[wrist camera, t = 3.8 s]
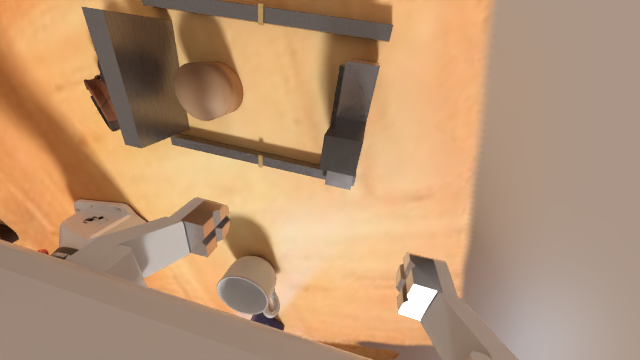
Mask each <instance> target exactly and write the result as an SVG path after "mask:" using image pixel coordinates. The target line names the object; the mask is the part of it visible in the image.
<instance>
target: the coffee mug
mask: <svg viewBox="0 0 640 360" xmlns="http://www.w3.org/2000/svg"><path fill="white" fill-rule="evenodd" d="M0 239H1V240H4V241H7V242H10V243H13V242H15V241H17V240H18V239H19V238H18V236H17V234H16V233H15V232H14V231H13V230H12V229H11V228H9V227H7V226H6V225H3V224H0Z"/></svg>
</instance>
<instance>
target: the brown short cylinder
mask: <svg viewBox="0 0 640 360" xmlns="http://www.w3.org/2000/svg"><path fill="white" fill-rule="evenodd" d="M174 88H175V93H176V96H177V98H178V100H179V102H180V104H181V105H182V107H183V108H184V109H185V110H186V111H187V112H188V113H189V114H190V115H192V116H193V117H195V118H197V119H199V120H203V121H210V120H213V119H216V118H218V117H221V116H223V115H226V114H228V113H231V112H233V111H235V110H237V109H238V108H239V107H240V105H241V103H242V100H243V87H242V83H241V81H240V79H239V77H238V75H237V74H236V72H235V71H234V70H233V69H232V68H231V67H229V66H228V65H226V64H224V63H221V62H200V63H187V64H184V65H182V66H181V67H180V68H179V69H178V70H177V72H176V74H175V78H174Z"/></svg>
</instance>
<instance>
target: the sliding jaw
mask: <svg viewBox="0 0 640 360" xmlns="http://www.w3.org/2000/svg"><path fill="white" fill-rule="evenodd" d="M379 67H380V66H379V63H376V62H370V61H364V60H358V59H352V60H348V61H346V63H345V64H343V65H340V68H339V74H338V81H337V87H336V93H335V99H334V106H333V112H332V118H331V124H330V127H329V129H328V130H327V132H326V133H325V135H324V142H323V148H322V155H321V162H320V168H319V169H322V170H323V174H322V176H326V181H325V184H326V185H331V186H335V187H339V188H344V189H348V190H350V188H351V184H352V180H353V176H354V177H355V173H356V169H357V164H358V160H359V156H360V152H361V148H362V144H363V138H364V132H365V126H366V121H367V117H368V113H369V109H370V104H371V100H372V96H373V92H374V88H375V83H376V79H377V75H378V71H379Z"/></svg>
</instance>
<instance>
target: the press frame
mask: <svg viewBox="0 0 640 360" xmlns="http://www.w3.org/2000/svg"><path fill="white" fill-rule="evenodd" d="M142 2H143V5H146V6H151V7H157V8H164V9H171V10H177V11H184V12H191V13H197V14H204V15H211V16H218V17H224V18H231V19H238V20H245V21H251V22H258V24H259V25H264V23H265V24H271V25H278V26H285V27H292V28H298V29H305V30H312V31H319V32H325V33H332V34H339V35H345V36H352V37H359V38H366V39H372V40H379V41H386V42H389V39H390V35H391V31H392V27H393V25H389V24H382V23H375V22H368V21H360V20H353V19H346V18H339V17H332V16H325V15H317V14H310V13H303V12H296V11H289V10H282V9H274V8H267V7H264V4H260V3H258V6H253V5H246V4H238V3H231V2H224V1H217V0H142ZM82 10H83V13H84V16H85V19H86V22H87V25H88V29H89V32H90V35H91V38H92V41H93V44H94V47H95V51H96V54H97V57H98V60H99V63H100V66H101V69H102V73H103V76H104V79H105V82H106V85H107V88H108V91H109V95H110V98H111V101H112V104H113V107H114V110H115V113H116V117H117V120H118V123H119V126H120V129H121V132H122V135H123V139H124V142H125V145H130V146H134V147H138V148H144V147H146V146H149V145H151V144H154V143H156V142H159V141H161V140H164V139H166V138H169V137H171V141H172V145H176V146H181V147H185V148H189V149H194V150H198V151H202V152H207V153H211V154H215V155H220V156H224V157H229V158H233V159H237V160H242V161H246V162H250V163H255V164H259V167H263V165H264V166H268V167H272V168H277V169H281V170H285V171H290V172H294V173H298V174H303V175H307V176H312V177H316V178H320V179H325V180H326V176H322V174H323V170H322V169H319V168H320V165H317V164H313V163H308V162H304V161H299V160H295V159H290V158H286V157H281V156H277V155H272V154H268V153H263V152H259V151H254V150H250V149H245V148H241V147H236V146H232V145H227V144H223V143H218V142H214V141H209V140H205V139H200V138H196V137H191V136H187V135H182V134H179V133H181V132H184V131H186V130H189V125H188V118H187V112H186V110H185V109H184V108H183V107H182V105H181V104H180V102H179V100H178V98H177V96H176V93H175V88H174V78H175V74H176V72H177V70H178V69H179V63H178V57H177V50H176V44H175V38H174V32H173V26H172V21H169V20H163V19H157V18H150V17H144V16H138V15H131V14H125V13H119V12H112V11H106V10H99V9H93V8H87V7H82ZM355 178H356V173H355V177H354V176H353V180H352V184H351V186H354V182H355Z"/></svg>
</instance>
